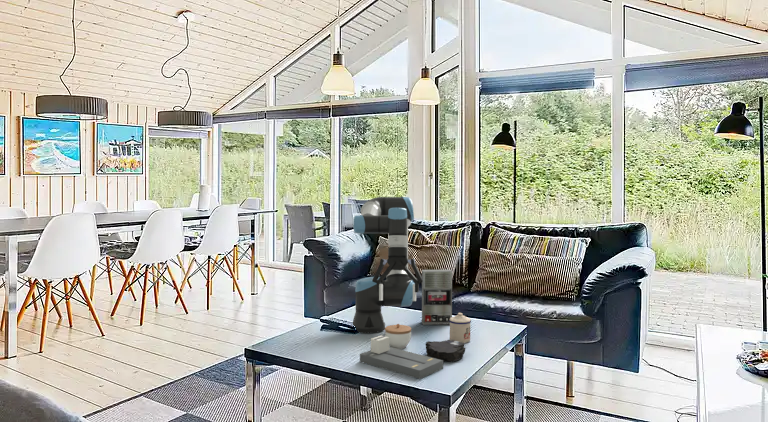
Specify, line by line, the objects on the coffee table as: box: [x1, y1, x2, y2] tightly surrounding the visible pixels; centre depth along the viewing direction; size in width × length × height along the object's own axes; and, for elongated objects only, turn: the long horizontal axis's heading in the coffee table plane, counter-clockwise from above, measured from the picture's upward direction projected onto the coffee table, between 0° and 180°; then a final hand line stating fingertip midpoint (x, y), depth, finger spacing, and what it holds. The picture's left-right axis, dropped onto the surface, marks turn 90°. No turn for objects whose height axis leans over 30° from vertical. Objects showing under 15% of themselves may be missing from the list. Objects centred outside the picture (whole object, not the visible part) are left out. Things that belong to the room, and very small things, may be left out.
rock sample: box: [425, 339, 466, 363], centre depth 223 cm, size 18×16×5 cm
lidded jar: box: [384, 323, 412, 350], centre depth 234 cm, size 11×11×9 cm
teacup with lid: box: [449, 312, 472, 344], centre depth 244 cm, size 12×9×12 cm
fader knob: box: [370, 335, 390, 354], centre depth 218 cm, size 4×6×5 cm, turn 140°
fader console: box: [359, 346, 444, 380], centre depth 212 cm, size 28×14×3 cm, turn 50°
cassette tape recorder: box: [421, 269, 453, 326], centre depth 270 cm, size 14×6×25 cm, turn 92°
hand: (397, 300), depth 227 cm, fingers open, 13 cm apart
